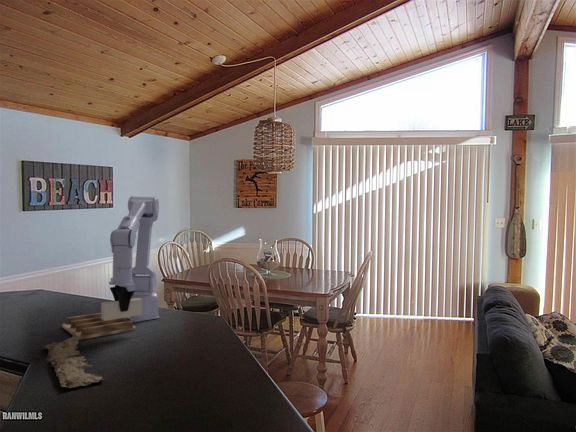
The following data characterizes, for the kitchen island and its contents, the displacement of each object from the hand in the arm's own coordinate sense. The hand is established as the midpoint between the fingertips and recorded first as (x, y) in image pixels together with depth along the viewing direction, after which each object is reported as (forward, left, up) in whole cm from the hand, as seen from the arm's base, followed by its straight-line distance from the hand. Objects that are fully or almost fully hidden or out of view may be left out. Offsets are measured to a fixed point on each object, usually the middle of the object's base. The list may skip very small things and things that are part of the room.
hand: (122, 310), depth 144 cm
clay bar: (0, 0, -2) cm, 2 cm away
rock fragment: (+20, +16, -9) cm, 27 cm away
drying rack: (+3, -12, -8) cm, 15 cm away
